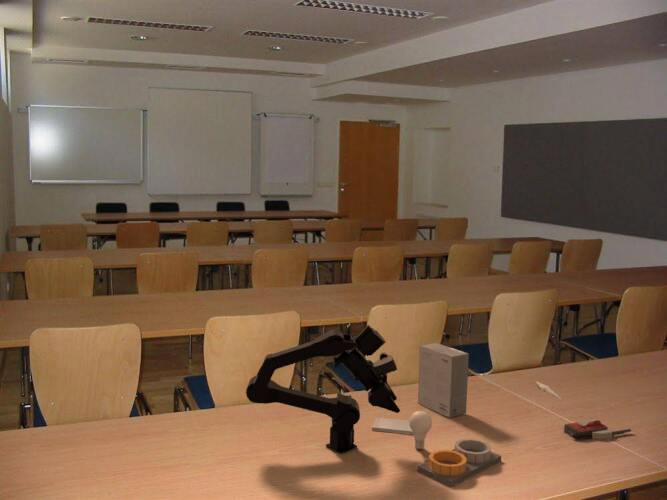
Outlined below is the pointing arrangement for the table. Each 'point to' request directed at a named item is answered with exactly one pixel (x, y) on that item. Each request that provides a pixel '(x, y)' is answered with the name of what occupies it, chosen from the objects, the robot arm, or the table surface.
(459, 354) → the hard drive box
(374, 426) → the hard drive
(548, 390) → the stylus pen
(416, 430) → the lightbulb
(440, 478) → the bulb holder
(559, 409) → the table surface
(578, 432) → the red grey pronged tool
